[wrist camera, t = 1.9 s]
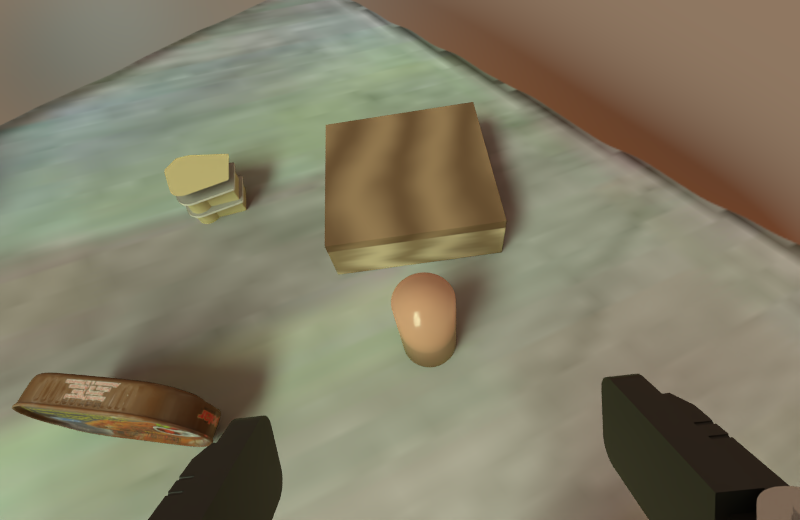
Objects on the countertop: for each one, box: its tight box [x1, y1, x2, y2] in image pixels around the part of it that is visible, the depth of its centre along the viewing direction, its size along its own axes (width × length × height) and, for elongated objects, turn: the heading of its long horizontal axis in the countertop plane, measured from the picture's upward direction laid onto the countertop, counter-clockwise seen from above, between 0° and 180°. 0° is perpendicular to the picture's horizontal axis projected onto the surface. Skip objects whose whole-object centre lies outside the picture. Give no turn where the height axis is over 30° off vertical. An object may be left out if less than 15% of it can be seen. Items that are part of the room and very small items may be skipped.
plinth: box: [325, 102, 507, 275], centre depth 43 cm, size 16×16×5 cm
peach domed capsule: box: [391, 273, 456, 367], centre depth 33 cm, size 5×5×8 cm
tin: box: [12, 373, 221, 447], centre depth 32 cm, size 15×3×8 cm, turn 83°
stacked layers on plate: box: [164, 154, 246, 224], centre depth 46 cm, size 10×9×6 cm
